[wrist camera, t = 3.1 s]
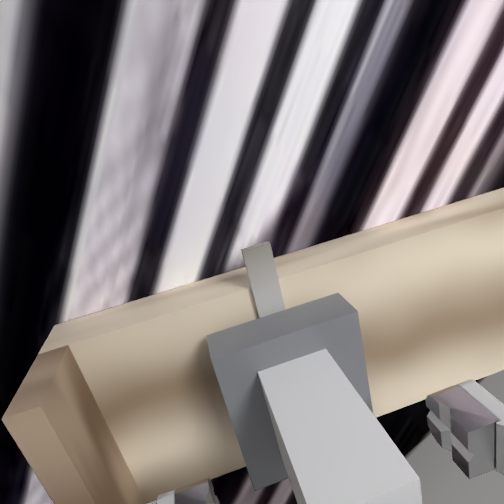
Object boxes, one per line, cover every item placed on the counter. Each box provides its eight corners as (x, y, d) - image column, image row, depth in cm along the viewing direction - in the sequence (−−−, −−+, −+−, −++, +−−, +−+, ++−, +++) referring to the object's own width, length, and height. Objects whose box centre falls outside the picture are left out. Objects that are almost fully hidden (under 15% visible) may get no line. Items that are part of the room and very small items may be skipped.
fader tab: (206, 335, 13) (240, 512, 7) (338, 292, 14) (473, 422, 8) (246, 457, 15) (298, 673, 9) (359, 415, 16) (477, 593, 10)
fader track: (37, 290, 14) (-28, 373, 9) (692, 98, 18) (882, 88, 13) (137, 493, 18) (127, 622, 13) (656, 301, 21) (791, 349, 17)
